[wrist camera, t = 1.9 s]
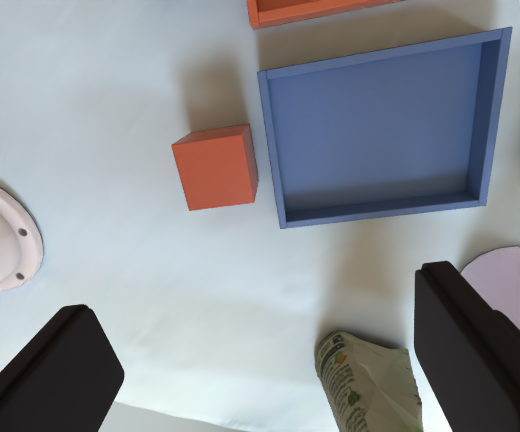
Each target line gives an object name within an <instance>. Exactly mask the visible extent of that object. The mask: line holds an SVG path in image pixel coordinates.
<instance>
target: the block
mask: <svg viewBox="0 0 520 432" xmlns="http://www.w3.org/2000/svg"><path fill="white" fill-rule="evenodd" d="M172 149H173V153H174V157H175V160H176V164H177V168H178V171H179V175H180V179H181V182H182V186H183V190H184V193H185V197H186V201H187V204H188V208H189V211H191V210H199V209H208V208H216V207H224V206H232V205H240V204H248V203H254V201H255V197H256V192H257V187H258V182H259V179H258V173H257V167H256V161H255V155H254V149H253V143H252V137H251V131H250V125H249V124H243V125H237V126H230V127H224V128H218V129H211V130H205V131H198V132H192V133H190V134H188V135H187V136H185V137H183V138H182V139H180V140H179V141H177V142H175V143H174V144H172Z"/></svg>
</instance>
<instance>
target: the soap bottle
mask: <svg viewBox="0 0 520 432" xmlns="http://www.w3.org/2000/svg"><path fill="white" fill-rule="evenodd" d="M460 274H461V275H462V276H463V277H464V278H465V279H466V280H467V282H468V283H469V284H470V285H471V286H472V287H473V288H474V289H475V290H476V291H477V293H478V294H479V295H480V296H481V297H482V298H483V299H484V300H485V301H486V302H487V303H488V305H489V306H490V307H491V308H492V309H493V310H498V311H501V312H502V313H503V314H505V315H506V316H507V317H508V318H509V319H510V320H511V321H512V322H513V323H514V324H515V325H516V327H517V328H518V329H519V330H520V247H518V246H514V247H507V248H499V249H496V250H493V251H491V252H488V253H486V254H483V255H481V256H479V257H478V258H476V259H475V260H474V261H472V262H471V263H470V264H468V265H467V266H466V267H465V268H464V269H463V271H462V272H461V273H460Z"/></svg>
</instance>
